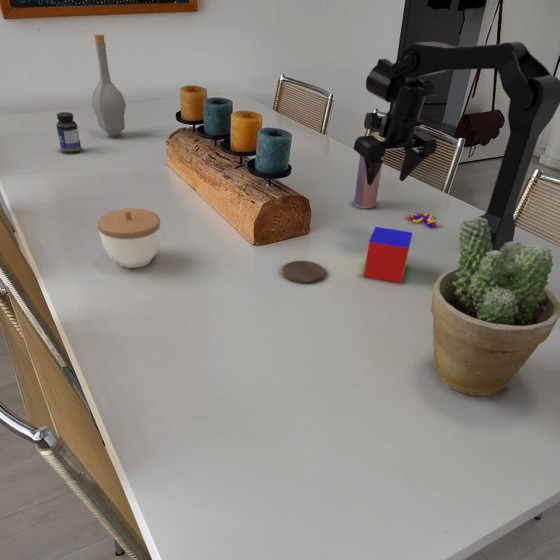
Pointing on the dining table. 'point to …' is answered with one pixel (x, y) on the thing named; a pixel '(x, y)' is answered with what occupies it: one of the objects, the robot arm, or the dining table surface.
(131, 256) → the lidded bowl
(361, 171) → the beverage can
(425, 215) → the building blocks
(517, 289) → the potted plant
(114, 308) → the dining table surface
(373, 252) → the cube
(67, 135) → the pill bottle
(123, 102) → the bottle
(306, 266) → the coaster
